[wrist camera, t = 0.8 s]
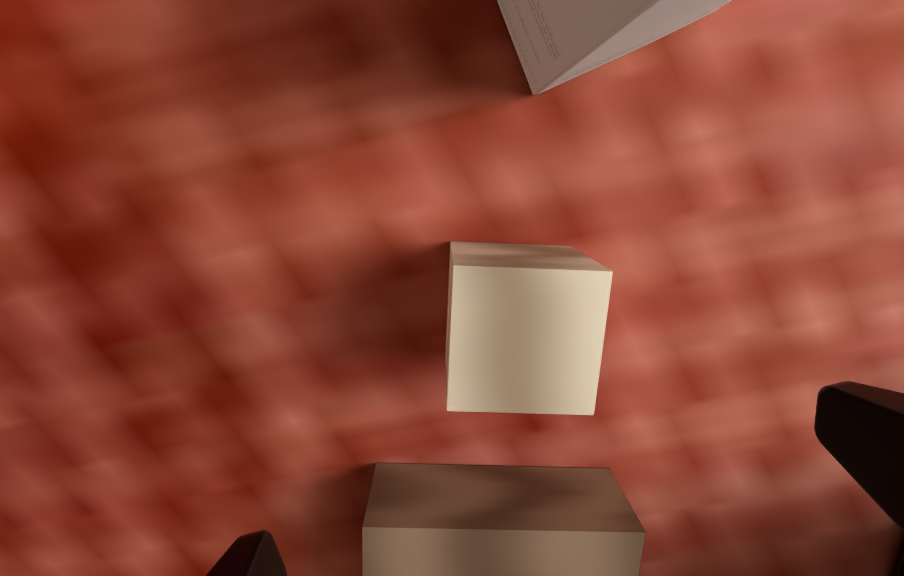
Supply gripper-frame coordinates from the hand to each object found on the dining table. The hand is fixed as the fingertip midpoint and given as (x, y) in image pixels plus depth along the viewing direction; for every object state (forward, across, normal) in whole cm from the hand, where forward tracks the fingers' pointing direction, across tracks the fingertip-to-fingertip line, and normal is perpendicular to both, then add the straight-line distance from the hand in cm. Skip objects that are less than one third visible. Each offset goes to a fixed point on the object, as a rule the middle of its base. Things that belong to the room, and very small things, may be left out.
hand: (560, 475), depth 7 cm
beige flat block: (+12, +1, +15) cm, 19 cm away
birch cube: (+12, -2, +2) cm, 13 cm away
